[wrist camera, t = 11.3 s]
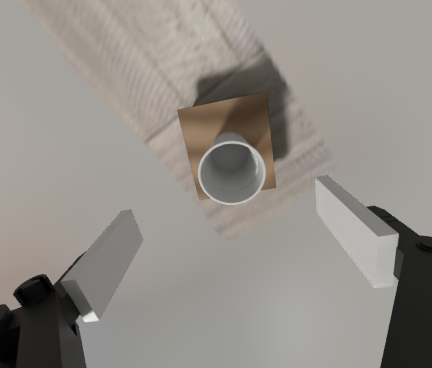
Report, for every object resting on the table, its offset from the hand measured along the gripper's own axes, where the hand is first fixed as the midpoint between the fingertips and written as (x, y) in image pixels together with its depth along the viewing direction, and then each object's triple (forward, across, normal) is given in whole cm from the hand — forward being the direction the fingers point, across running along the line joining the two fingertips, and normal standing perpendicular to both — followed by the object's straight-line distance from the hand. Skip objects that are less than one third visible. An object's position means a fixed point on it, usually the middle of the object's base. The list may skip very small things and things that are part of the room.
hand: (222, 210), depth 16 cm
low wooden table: (+29, +1, -2) cm, 29 cm away
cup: (+23, +1, -2) cm, 23 cm away
